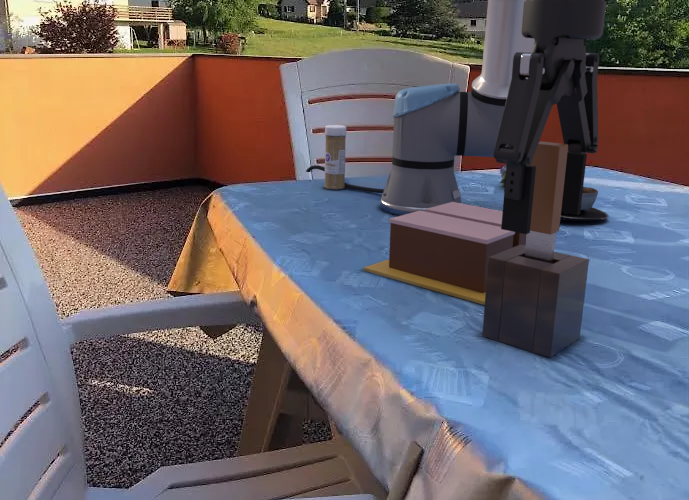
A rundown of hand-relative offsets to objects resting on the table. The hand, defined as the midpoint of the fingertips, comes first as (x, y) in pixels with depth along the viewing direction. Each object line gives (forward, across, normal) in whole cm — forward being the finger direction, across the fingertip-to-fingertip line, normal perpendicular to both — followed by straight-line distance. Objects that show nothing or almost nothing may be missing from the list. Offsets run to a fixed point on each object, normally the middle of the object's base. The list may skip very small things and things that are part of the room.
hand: (542, 221), depth 73 cm
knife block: (+13, 0, 0) cm, 13 cm away
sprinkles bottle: (+13, +45, +70) cm, 84 cm away
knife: (+13, 0, 0) cm, 13 cm away
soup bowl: (+13, +57, +23) cm, 63 cm away
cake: (+13, +15, +18) cm, 27 cm away
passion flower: (+13, +75, +41) cm, 86 cm away
